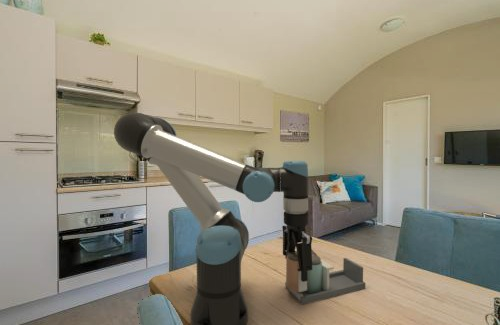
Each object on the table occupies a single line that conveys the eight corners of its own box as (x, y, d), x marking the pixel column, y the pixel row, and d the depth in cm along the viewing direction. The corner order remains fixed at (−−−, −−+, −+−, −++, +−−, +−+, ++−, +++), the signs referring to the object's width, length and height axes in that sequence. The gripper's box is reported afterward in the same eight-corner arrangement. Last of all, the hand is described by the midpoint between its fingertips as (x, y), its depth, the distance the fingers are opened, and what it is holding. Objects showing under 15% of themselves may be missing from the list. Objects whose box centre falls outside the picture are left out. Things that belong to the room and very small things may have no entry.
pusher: (327, 292, 78) (327, 268, 78) (312, 281, 85) (313, 259, 85) (333, 290, 79) (333, 267, 79) (318, 279, 86) (318, 257, 86)
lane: (302, 304, 74) (302, 282, 73) (285, 287, 83) (285, 267, 83) (365, 288, 82) (365, 268, 82) (343, 274, 92) (343, 256, 91)
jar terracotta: (309, 289, 76) (310, 256, 76) (292, 292, 74) (292, 259, 74) (299, 280, 82) (299, 249, 82) (282, 283, 80) (283, 252, 80)
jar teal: (309, 296, 77) (309, 263, 76) (298, 286, 82) (298, 256, 82) (325, 292, 79) (325, 260, 79) (313, 283, 85) (314, 253, 84)
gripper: (325, 216, 70) (326, 298, 71) (291, 204, 88) (291, 269, 88) (302, 219, 67) (303, 304, 68) (271, 206, 85) (272, 273, 86)
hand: (296, 284), depth 78 cm, fingers closed on jar terracotta, 6 cm apart
